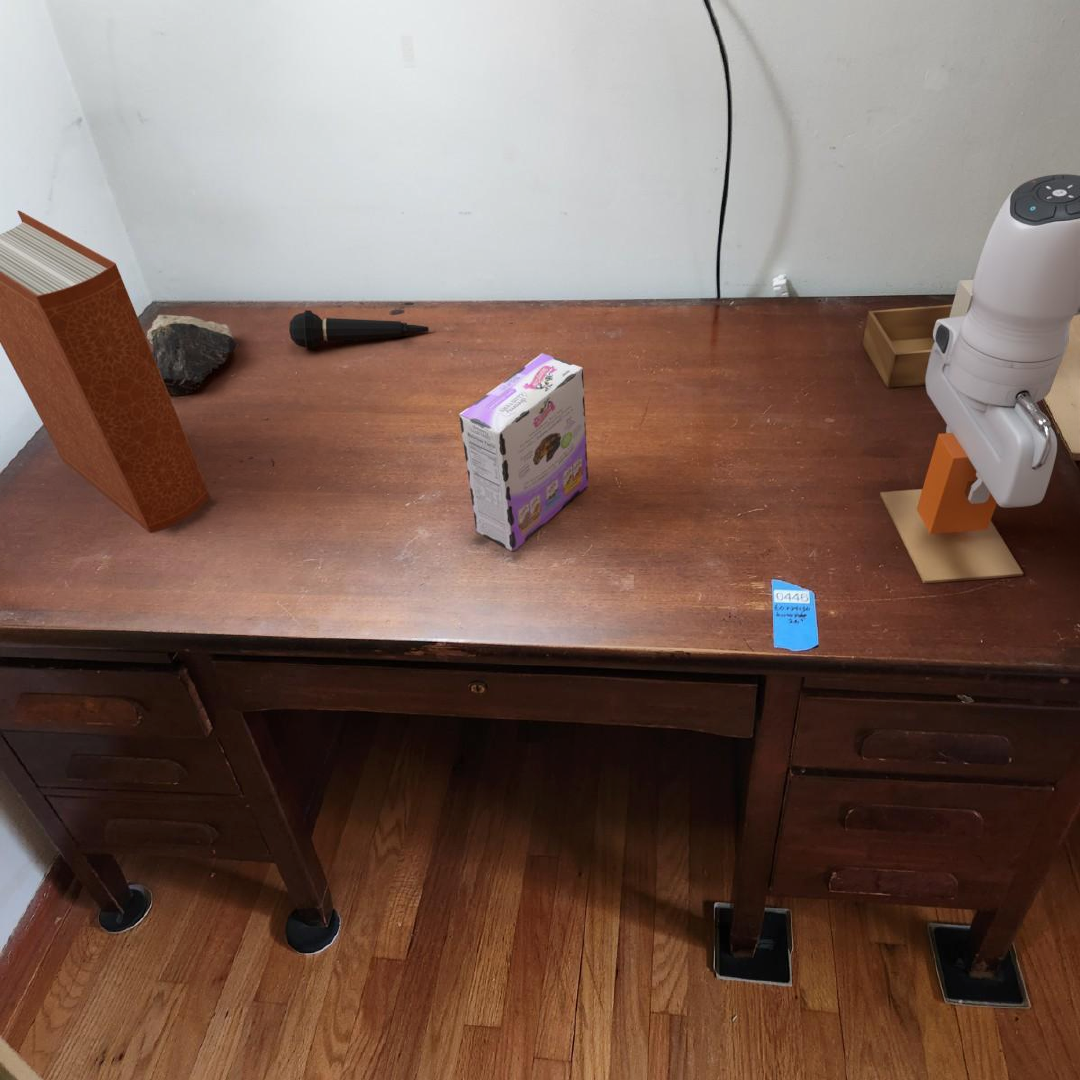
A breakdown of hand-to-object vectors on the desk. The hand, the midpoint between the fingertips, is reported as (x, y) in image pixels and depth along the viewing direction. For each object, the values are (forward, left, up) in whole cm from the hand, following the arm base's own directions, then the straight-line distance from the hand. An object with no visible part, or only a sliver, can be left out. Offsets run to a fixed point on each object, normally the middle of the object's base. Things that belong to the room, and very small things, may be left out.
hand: (964, 481), depth 92 cm
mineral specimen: (+91, -45, -7) cm, 102 cm away
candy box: (+44, -9, -7) cm, 46 cm away
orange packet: (0, 0, -5) cm, 5 cm away
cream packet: (-15, -33, -7) cm, 37 cm away
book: (+93, -20, -7) cm, 95 cm away
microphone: (+68, -49, -7) cm, 84 cm away
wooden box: (-11, -33, -7) cm, 36 cm away
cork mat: (0, 0, -7) cm, 7 cm away
